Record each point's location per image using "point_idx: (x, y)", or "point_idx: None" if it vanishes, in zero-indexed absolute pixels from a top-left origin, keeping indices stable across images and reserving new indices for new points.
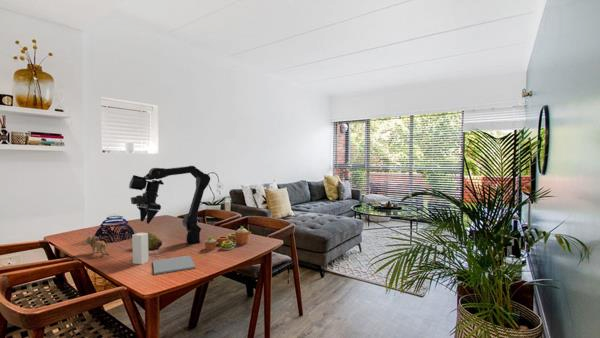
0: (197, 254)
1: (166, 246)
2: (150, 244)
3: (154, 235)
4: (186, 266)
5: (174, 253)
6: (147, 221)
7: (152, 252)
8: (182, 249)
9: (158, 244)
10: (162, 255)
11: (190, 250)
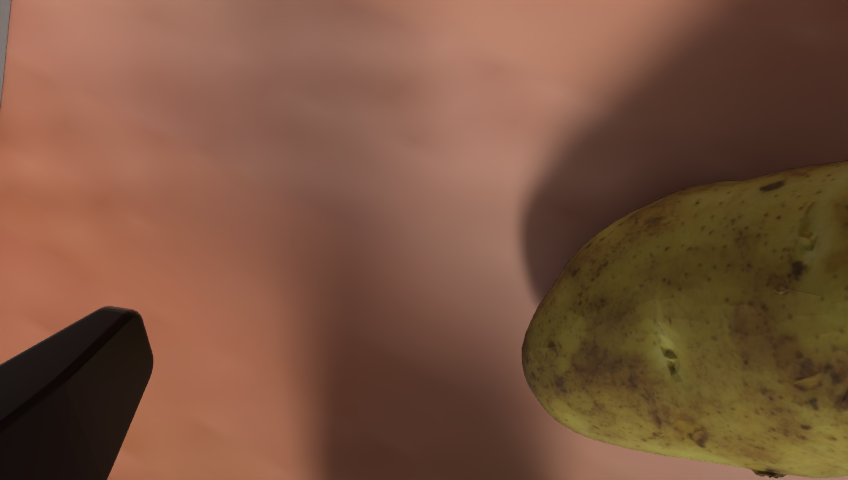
0: None
1: None
2: (602, 245)
3: (735, 445)
4: None
5: (198, 319)
6: (45, 358)
7: (444, 164)
8: (286, 455)
9: (526, 334)
10: (214, 188)
11: (190, 477)
